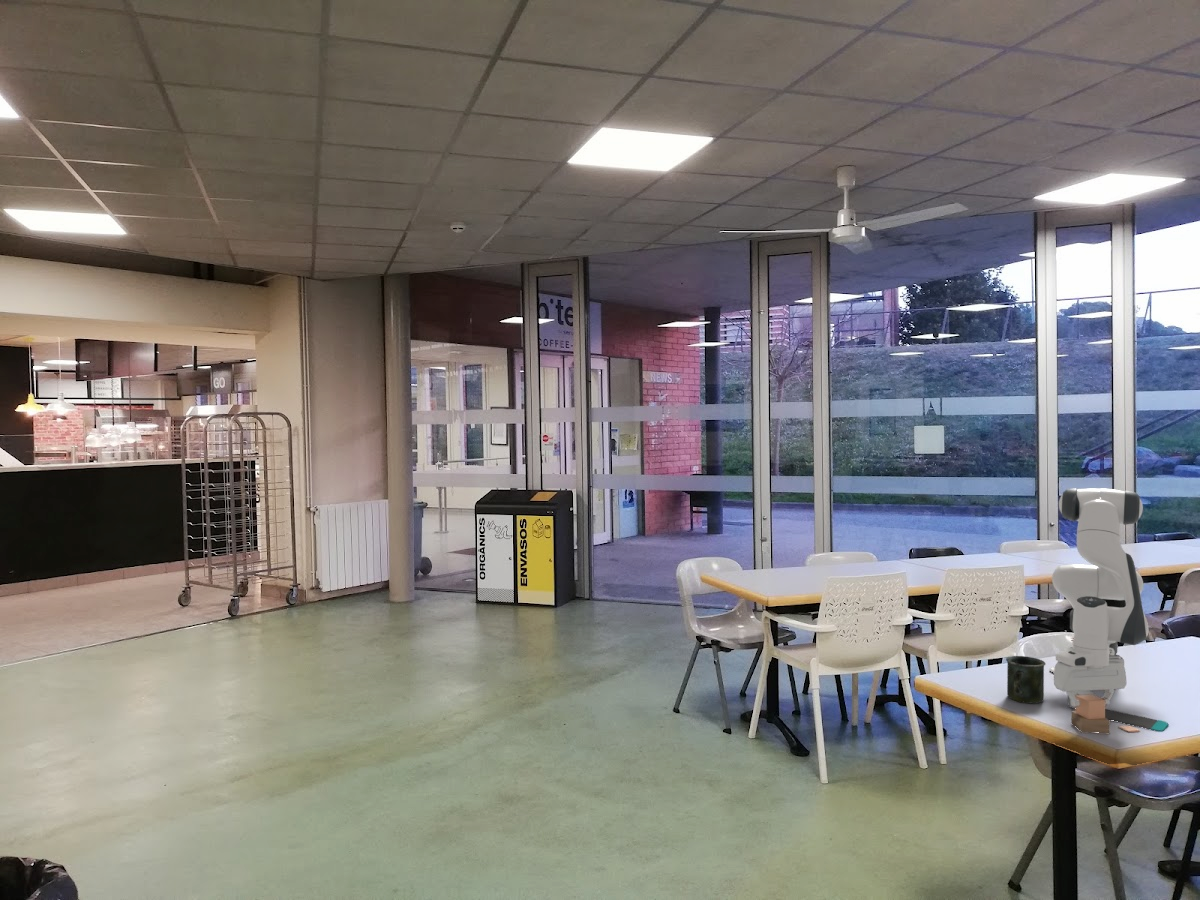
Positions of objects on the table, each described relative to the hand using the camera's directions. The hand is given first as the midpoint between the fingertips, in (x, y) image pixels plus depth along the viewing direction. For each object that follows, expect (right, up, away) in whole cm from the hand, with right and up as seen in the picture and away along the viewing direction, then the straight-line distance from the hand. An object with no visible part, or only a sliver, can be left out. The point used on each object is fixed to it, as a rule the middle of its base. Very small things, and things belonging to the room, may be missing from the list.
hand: (1090, 705), depth 224 cm
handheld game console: (+15, -7, +8) cm, 19 cm away
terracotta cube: (0, -3, 0) cm, 3 cm away
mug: (-6, -7, +24) cm, 26 cm away
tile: (+10, -7, -1) cm, 12 cm away
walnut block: (0, -7, 0) cm, 7 cm away
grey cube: (+8, -6, +17) cm, 20 cm away
